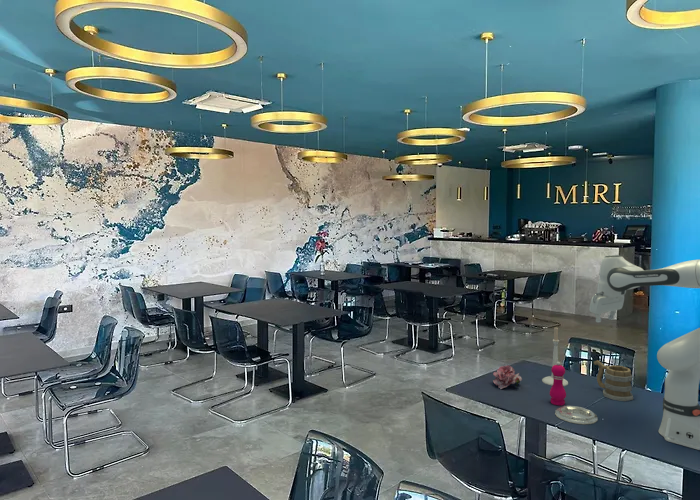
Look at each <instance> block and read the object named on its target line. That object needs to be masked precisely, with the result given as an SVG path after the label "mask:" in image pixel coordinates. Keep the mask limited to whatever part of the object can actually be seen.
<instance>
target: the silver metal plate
mask: <svg viewBox="0 0 700 500" xmlns="http://www.w3.org/2000/svg"><path fill="white" fill-rule="evenodd" d="M554 412H555V413H554V415H555V416H556V417H557V419H559V420H562V421H564V422H567V423H570V424H574V425H575V424H576V425H584V426H585V425H594V424H596V423H598V421H599V419H598V418H599V417H598V415H597V414H596V413H594V412H593V411H592V410H590V409H587V408H585V407H583V406H582V407H581V406H575V405H562V406H559V407H557V408H556V409H555V410H554Z"/></svg>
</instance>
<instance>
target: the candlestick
mask: <svg viewBox="0 0 700 500" xmlns="http://www.w3.org/2000/svg"><path fill="white" fill-rule="evenodd" d="M559 342H560V340H559V328H558V327H557V326H556V327H554V328H553V339H552V343H553V353H552V367H553V366H554V365H557V364H556V363H557V362H559V347H558V345H559ZM552 367H551V368H552ZM541 382H542V383H543V384H545V385H549V386H551V387H552V385H553V382H554V379H553V373H552V372H551V375H548V376H545V377H543V378H542V379H541ZM568 385H569V381H568V380H567V379H565V378H564V379H563V387H566V386H568Z"/></svg>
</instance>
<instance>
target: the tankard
mask: <svg viewBox="0 0 700 500" xmlns="http://www.w3.org/2000/svg"><path fill="white" fill-rule="evenodd" d="M593 364H594V365H595V366H598V372H597V376H596V381H597V382H596V383H597V384H598V386H599V387H600V388H602V395H603V396H604V397H605V398H608V399H610V400H612V401H620V402H629V401H633V400H634V396H633V393H632V390H633V386H632V381H633V375H632V371H631V369H630V367H629V368H628V367H625V366H623V365H616V364H615V365H605V364H604V363H602V361H600V360H598V359H597V360H595V361H593ZM604 370H605V371H604ZM603 375H604V376H605V380H604V383H603V379H602V377H603Z"/></svg>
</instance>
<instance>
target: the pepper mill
mask: <svg viewBox="0 0 700 500" xmlns="http://www.w3.org/2000/svg"><path fill="white" fill-rule="evenodd" d="M556 364H557V365H554V366H553V367H551V374H552V373H553V379H554V382H553V385H552V386H551V388H550V390H549V396H550V403H551V404H552V405H554V406H559V407H562V406H565V403H566V400H565V399H566V397H567V392H566V389H565V386H563V379H565V376H564V375H565V374H566V369H565V367H564V366H563V365H562V364H561V362H560V361H558V362H557V363H556Z"/></svg>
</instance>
